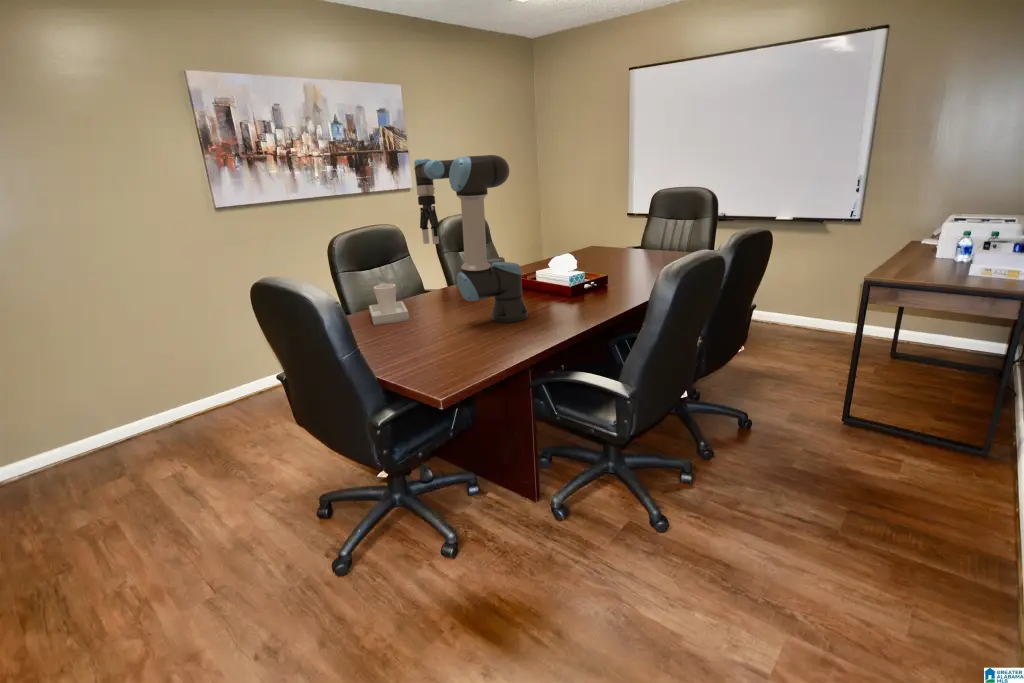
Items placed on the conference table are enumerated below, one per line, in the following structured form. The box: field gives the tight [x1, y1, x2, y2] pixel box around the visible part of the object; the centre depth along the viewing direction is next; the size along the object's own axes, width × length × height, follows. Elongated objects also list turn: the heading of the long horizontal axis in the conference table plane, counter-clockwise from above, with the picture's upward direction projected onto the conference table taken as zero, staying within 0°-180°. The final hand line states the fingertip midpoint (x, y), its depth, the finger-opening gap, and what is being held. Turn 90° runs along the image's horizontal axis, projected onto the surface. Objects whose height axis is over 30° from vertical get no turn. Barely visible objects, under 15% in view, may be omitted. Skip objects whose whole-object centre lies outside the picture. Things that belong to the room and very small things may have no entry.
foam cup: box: [373, 283, 397, 315], centre depth 232 cm, size 10×9×13 cm
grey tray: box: [368, 300, 410, 326], centre depth 234 cm, size 20×15×4 cm
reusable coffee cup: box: [487, 256, 506, 267], centre depth 271 cm, size 13×13×15 cm
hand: (431, 243), depth 241 cm, fingers open, 13 cm apart
